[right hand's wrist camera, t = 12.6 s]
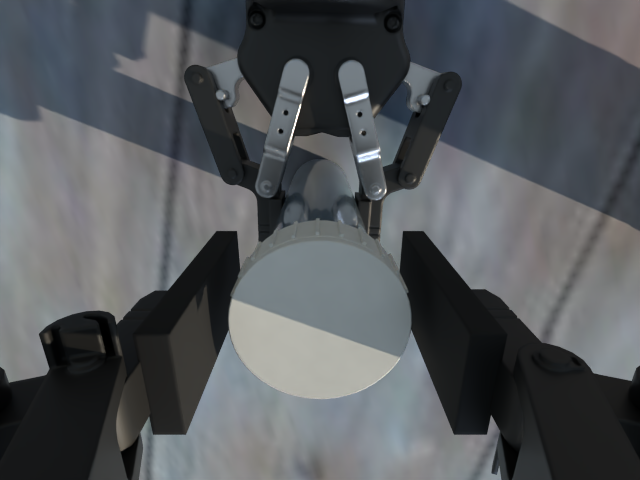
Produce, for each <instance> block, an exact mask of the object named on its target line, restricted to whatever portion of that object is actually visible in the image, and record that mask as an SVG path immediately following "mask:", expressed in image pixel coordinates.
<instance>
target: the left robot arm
mask: <svg viewBox="0 0 640 480" xmlns="http://www.w3.org/2000/svg"><path fill="white" fill-rule="evenodd" d="M404 7H405V0H246V31H245V35H244V38H243V41H242V43H241V45H240V47H239V50H238V54H237V58H234V59H231V60H228V61H225V62H222V63H218V64H215V65H212V66H209V67H202V66H199V65H192V66H190V67H188V68H187V70H186V71H185V75H184V79H185V83H186V85H187V88H188V91H189V93H190V96H191V99H192V101H193V104H194V106H195V109H196V112H197V114H198V117H199V120H200V122H201V125H202V127H203V130H204V133H205V135H206V138H207V141H208V143H209V146H210V148H211V151H212V154H213V156H214V159H215V162H216V164H217V167H218V169H219V172H220V175H221V177H222V179H223V181H224V182H226V183H227V184H230V185H236V184H237V185H239V186H242V187H245V188H247V189H249V190H251V191H252V192H253V193H254V194H255V196H256V198H257V205H258V231H259V242H260V241H261V242H263V241H264V240H265V239H267V238H268V237H269V236H271V235H272V233H273V230H274V228H275V225H276V222H277V220H278V217H279V214H280V212H281V209H282V206H283V203H284V201H285V191H282V187H281V182H282V179H283V176H284V172H285V169H286V165H287V162H288V158H289V155H290V152H291V149H292V145H293V142H294V138H295V136H309V135H313V134H317V133H321V132H323V133H327V134H330V135H333V136H337V137H349V141H350V145H351V149H352V153H353V156H354V160H355V165H356V169H357V173H358V177H359V192H355V202H356V204H357V207H358V210H359V212H360V215H361V218H362V221H363V223H364V226H365V229H366V231H367V234H368V235H369V236H370V237H372V238H373V239H374V240H376V239H378V240H379V242H380V232H381V219H382V207H383V201H384V199H385V198H386V196H387V195H389V194H390V193H392V192H395V191H398V190H401V189H404V188H405V189H414V188H416V187H417V186H418V185H419V184H420V182H421V180H422V177H423V175H424V173H425V170H426V168H427V166H428V163H429V161H430V159H431V157H432V154H433V152H434V150H435V147H436V145H437V143H438V140H439V138H440V136H441V133H442V131H443V129H444V127H445V124H446V122H447V120H448V117H449V115H450V113H451V110H452V108H453V106H454V103H455V101H456V99H457V97H458V94H459V92H460V90H461V86H462V81H461V78H460V76H459V75H458V74H457V73H455V72H445V73H439V72H436V71H434V70H431V69H428V68H426V67H423V66H421V65H418V64H415V63H413V62H410V54H409V51H408V49H407V46H406V44H405V40H404V36H403V18H404ZM244 79H245V80H246V81H247V83H248V84H249V85H250V87H251V88H252V90H253V91H254V93H255V94H256V95H257V97H258V98H259V100H260V101H261V103H262V104H263V105H264V107H265V108H266V110H267V111H268V113H269V114H270V115H271V117H272V118H271V122H270V126H269V129H268V133H267V137H266V141H265V145H264V152H263V157H262V161H261V164H257V163H254V162H252V161H250V160H249V157H248V154H247V151H246V148H245V145H244V142H243V139H242V137H241V134H240V131H239V128H238V125H237V122H236V119H235V117H234V114H233V111H232V107H234V106H236V105H237V103H238V101H239V91H238V88H239V84H240V83H241V81H242V80H244ZM401 83H403V84H404V85H405V86H406V88H407V98H406V104H407V107H408V109H409V110H411V111H412V112H413V114H412V117H411V119H410V122H409V124H408V127H407V129H406V132H405V134H404V137H403V139H402V142H401V144H400V147H399V149H398V152H397V154H396V157H395V159H394V162H393V164H391V165H388V166H385V167H382V162H381V157H380V147H379V142H378V137H377V133H376V128H375V123H374V118H375V117H376V115H377V114H378V113H379V112H380V110H381V109H382V108H383V106H384V105H385V104H386V102H387V101H388V100H389V99H390V97H391V96H392V95H393V93H394V92H395V91H396V89H397V88H398V87H399V86H400V84H401Z"/></svg>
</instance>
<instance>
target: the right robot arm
mask: <svg viewBox="0 0 640 480" xmlns="http://www.w3.org/2000/svg"><path fill="white" fill-rule="evenodd" d="M239 272H240V262H239V250H238V238H237V231H216V233H215V234H214V235H213V236H212V237H211V239H210V240H209V241H208V242H207V244H206V245H205V246H204V247H203V248H202V250H201V251H200V252H199V253H198V255H197V256H196V257H195V258H194V259H193V261H192V262H191V263H190V264H189V266H188V267H187V268H186V269H185V270H184V272H183V273H182V274H181V275H180V277H179V278H178V279H177V280H176V281H175V283H174V284H173V285H172V286H171V288H170V289H169V290H168V291H154V292H152V293H150V294H148V295H147V296H145V297H143V298H142V299H140V300H139V301H138V302H137V303H136V304H135V305H134V307H133V308H132V309H131V311H129V312H128V313H127V314H126V315H125V316H124V317H123V320H121V321H120V322H119V323H118V324H117V325H116V321H115V317H114V316H113V315H112V314H110V313H109V312H104V311H86V312H81V313H77V314H72V315H70V316H67V317H64V318H62V319H59V320H57V321H55V322H54V323H52V324H50V325H48V326H47V327H46V328H45V329H44V330H43V331H42V332H40V333H39V336H40V339H41V342H42V346H43V349H44V352H45V355H46V359H47V362H48V365H49V368H50V369H49V371H48V373H47V375H45V376H40V377H35V378H30V379H25V380H20V381H15V382H10V383H9V382H8V379H7V376H6V373H5V371H4V369H2V368H1V367H0V480H139V473H140V466H141V459H142V452H143V444H142V438H141V434H140V432H141V430H142V428H143V426H144V424H145V423H146V421H147V419H148V417H150V422H151V427H152V431H153V435H186V433H187V431H188V428H189V426H190V423H191V421H192V418H193V416H194V413H195V411H196V408H197V406H198V404H199V401H200V399H201V396H202V394H203V391H204V389H205V386H206V384H207V381H208V379H209V377H210V374H211V372H212V369H213V367H214V364H215V362H216V359H217V357H218V354H219V352H220V349H221V347H222V345H223V342H224V340H225V337H226V335H227V332H228V330H229V327H228V311H229V305H230V301H231V296H230V295H231V292H232V290H233V288H234V285H235V283H236V281H237V279H238V275H239ZM400 274H401V276H402V278H403V281H404V283H405V285H406V287H407V289H408V293H407V296H408V299H409V302H410V307H411V313H412V325H411V330H412V332H413V335H414V337H415V340H416V342H417V345H418V347H419V349H420V352H421V354H422V357H423V359H424V362H425V364H426V367H427V369H428V372H429V374H430V377H431V379H432V381H433V384H434V386H435V389H436V391H437V394H438V396H439V399H440V401H441V404H442V406H443V408H444V411H445V413H446V416H447V418H448V421H449V423H450V426H451V428H452V431H453V433H454V435H487V431H488V427H489V422H490V417H491V415H492V417H493V419H494V421H495V422H496V424H497V426H498V428H499V430H500V434H499V438H498V443H497V447H496V452H495V456H494V461H493V465H492V474H496V475H497V472H498V468H499V466H500V472H501V479H502V480H640V366H639V367H637V368H636V371H635V373H634V376H633V379H632V381H628V380H623V379H618V378H613V377H608V376H603V375H598V374H594V373H593V372H592V370H591V369H590V367H589V366H588V365H587V364H586V363H585V361H584V360H582V359H581V358H579V357H578V356H577V355H575V354H574V353H572V352H570V351H568V350H565V349H563V348H561V347H558V346H554V345H550V344H546V343H542V342H541V341H540V340H539V339H538V338H537V337H536V336H535V335H534V334H533V333H532V332H531V331H530V330H529V329H528V327H527V326H526V325H525V324H524V323H523V322H522V321H521V320H520V319H519V318H517V316H516V315H515V314H514V312H513V311H512V310H509V307H508V306H507V305H506V304H505V303H504V302H503V301H502V300H501V299H500V298H499V297H497V296H496V295H494V294H492V293H490V292H489V291H487V290H485V289H470V288H469V286H468V285H467V284H466V283H465V281H464V280H463V279H462V278H461V277H460V275H459V274H458V273H457V272H456V270H455V269H454V268H453V267H452V266H451V264H450V263H449V262H448V261H447V259H446V258H445V257H444V256H443V255H442V253H441V252H440V251H439V250H438V248H437V247H436V246H435V245H434V244H433V242H432V241H431V240H430V239H429V237H428V236H427V235H426V234H425V233H424V231H403V238H402V250H401V262H400Z"/></svg>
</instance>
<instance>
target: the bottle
mask: <svg viewBox="0 0 640 480" xmlns="http://www.w3.org/2000/svg"><path fill="white" fill-rule="evenodd" d="M316 218H320V220H327V221H334V222H338V220H340V221H342V223H343V224H347V225H350V226H352V227H355V228H357V229H358V228H359V227H360V228H362V230H363V232H364V233H366V234H367V231H366V229H365V226H364V223H363V221H362V218H361V215H360V212H359V210H358V207H357V204H356V202H355V199H354V196H353V193H352V191H351V188H350V185H349V183H348V180H347V177H346V175H345V173H344V171H343V170H342V169H341V168H340V166H338V165H337V164H336V163H334V162H332V161H330V160H327V159H313V160H310V161H307V162H306V163H304V164H303V165H301V166H300V167H299V168H298V170H297V171H296V172H295V174H294V177H293V179H292V182H291V184H290V187H289V190H288V193H287V195H286V198H285V201H284V203H283V206H282V209H281V212H280V214H279V217H278V220H277V222H276V225H275V228H274V230H276V229H278V231H279V230H281V229H283V228H285V227H287V226H290V225H293V224H294V222H296V221H298V223H301V222H305V221H314V220H316ZM274 230H273V233H274ZM273 233H272V234H273Z"/></svg>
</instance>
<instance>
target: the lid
mask: <svg viewBox="0 0 640 480" xmlns="http://www.w3.org/2000/svg"><path fill="white" fill-rule="evenodd" d="M407 293H408V289H407V287H406V285H405V283H404V281H403V278H402V276H401V274H400V272H399V270H398V268H397V265H396V263H395V261H394V259H393V257H392V255H391V254H387V253H386V251H385V250H384V249H383V248H382V246H381V244H380V242H379V240H378V239H376V240H374V239H373V238H372V237H370V236H369V235H368V234H366V233H364V232H363V230H362V228H360V227H359V228H358V229H357V228H355V227H352V226H350V225H347V224H343V223H342V221H340V220H338V222H334V221H327V220H320V218H316V220H314V221H305V222H301V223H298V221H296V222H294V224H293V225H290V226H287V227H285V228H283V229H281V230H279V231H278V229H276V230H274V233H273V234H272V235H271V236H269V237H268V238H267V239H265V240H264V241H263V242H261V241H260V242H259V243H258V244H257V246H256V249H255V251H254V252H253V253H252V255H251V257H250V258H249V257H247V258H246V260H245V262H244V264H243V266H242V268H241V270H240V272H239V275H238V279H237V281H236V283H235V285H234V288H233V290H232V292H231V295H230V296H231V301H230V305H229V311H228V327H229V333H230V338H231V341H232V344H233V346H234V349H235V351H236V353H237V354H238V356H239V358H240V359H241V361H242V362H243V363H244V365H245V366H246V367H247V368H248V369H249V370H250V371H251V372H252V373H253V374H254V375H255V376H256V377H257V378H259V379H260V380H261V381H263V382H264V383H266V384H267V385H269V386H271V387H273V388H275V389H277V390H279V391H281V392H284V393H287V394H290V395H294V396H298V397H303V398H312V399H327V398H336V397H342V396H346V395H349V394H353V393H356V392H358V391H361V390H363V389H365V388H367V387H369V386H371V385H372V384H374V383H376V382H377V381H378V380H380V379H381V378H383V377H384V376H385V375H386V374H387V373H388V372H389V371H390V370H391V369H392V368H393V367H394V366H395V364H396V363H397V362H398V360H399V359H400V357H401V356H402V354H403V352H404V350H405V348H406V346H407V343H408V340H409V336H410V333H411V325H412V313H411V307H410V302H409V299H408V296H407Z"/></svg>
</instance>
